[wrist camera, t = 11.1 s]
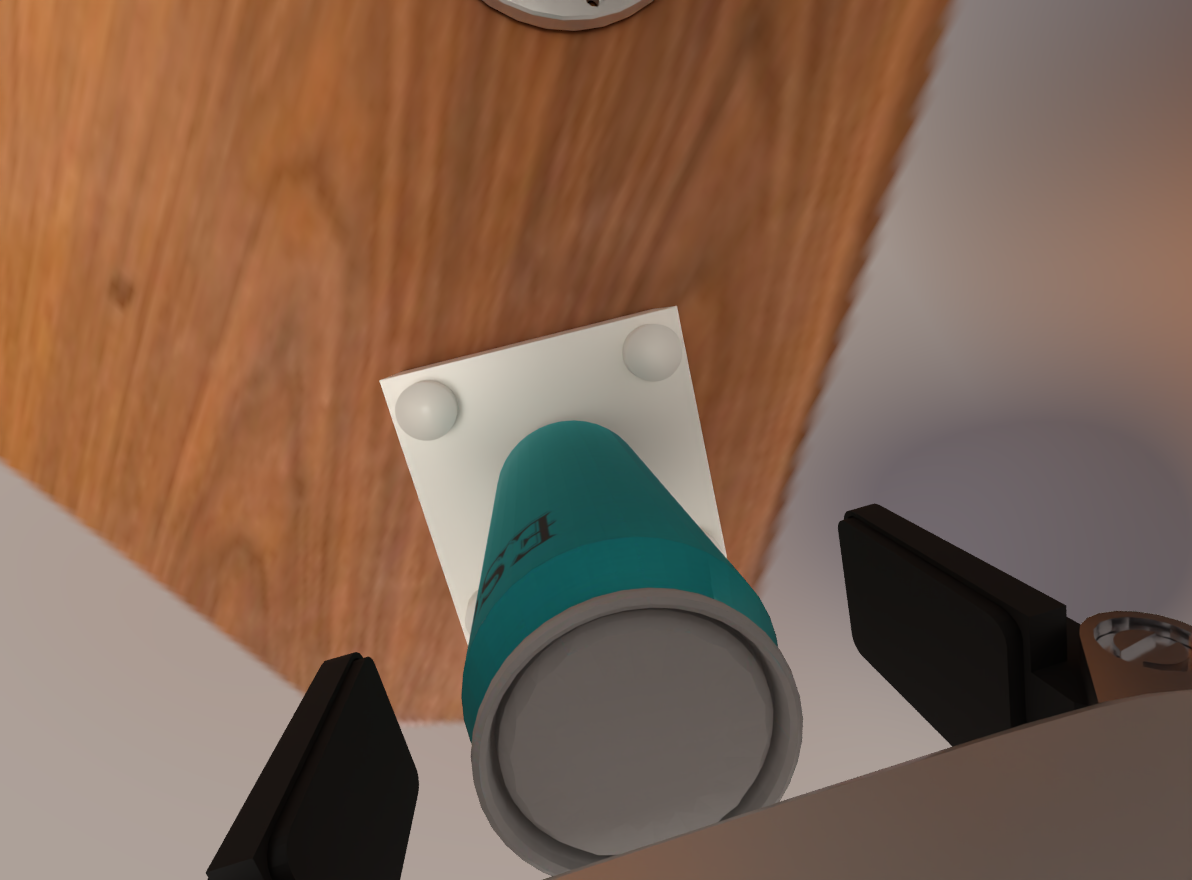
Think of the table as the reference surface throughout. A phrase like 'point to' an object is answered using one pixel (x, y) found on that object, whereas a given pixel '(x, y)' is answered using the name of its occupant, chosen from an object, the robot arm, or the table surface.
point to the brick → (535, 399)
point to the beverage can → (615, 662)
